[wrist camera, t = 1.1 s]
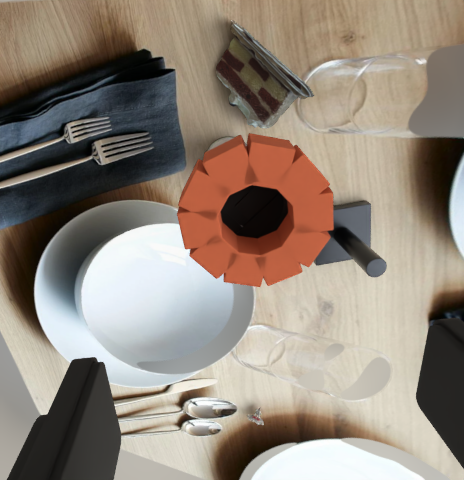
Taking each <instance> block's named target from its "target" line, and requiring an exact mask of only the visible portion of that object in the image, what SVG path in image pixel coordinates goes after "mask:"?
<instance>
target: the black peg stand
mask: <svg viewBox="0 0 464 480" xmlns="http://www.w3.org/2000/svg"><path fill="white" fill-rule="evenodd" d="M327 232H328V233H329V235H330V237H331V238H330V239H329V241H328V242H327V243H326V245H325V246H324V247H323V249H322V250H321V252H320V253H319V254H318V256H317V257H316V258H315V260H314V263H315V264H316V265H322V264H328V263H334V262H339V261H345V260H351V259H353V260H354V261H355V262H356V263H357V264H358V265H359V266H360V267H361V268H362V269H363V270H364V271H365V272H366V273H367V274H368V275H369V276H371V277H378V276H380V275H382V274H383V273H384V272H385V270H386V262H385V261H384V260H383V259H382V258H381V257H380V256H379V255H377V254H376V253H375V252H374V251H373V250H372V249H371V248H370V235H371V204H370V203H369V202H367V201H362V202H356V203H350V204H344V205H338V206H333V230H329V231H327Z"/></svg>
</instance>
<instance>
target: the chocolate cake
mask: <svg viewBox="0 0 464 480" xmlns="http://www.w3.org/2000/svg"><path fill="white" fill-rule="evenodd" d="M231 21H232V20H231ZM231 31H232V32H233V33H234V34H235V37H234V38H233V40H232V41H231V42H230V47H229V49H227V50H226V51H225V52H224V55H223V56H222V58H221V60H220V62H219V63H218V65H217V67H216V71H217V77H218V78H219V79H220V80H221V82H222V83H223V84H224V85H225V86H226V87H227V88H229V89H230V90H231V92H232V93H231V95H230V96H229V98H228V99H229V103H230V105H231V106H235V105H237V106H238V107H239V109H240V110H241V111H242V112H243V114H244V115H245V116H246V118H247V123H248V125H253V126H254V127H257V126H259V127H261V128H269V127H271V126H273V125H274V124H275V123H276V122H277V120H278V118H279V117H280V116H281V115H282V114H283V113H284V112H285V111H286V110H287V109H288V108H289V106H290V105H291V104H292V103H293V101H294V100H295V99H297V98H298V97H299V98H300V99H305V98H306V97H313V96H314V95H313V93H312V91H311V89H310V87H309V86H307V85H306V84H305V82H303V81H302V80H301V79H300V78H299V77H298V76H297V75H295V74H293V73H292V71H291V70H290V69H288V68H287V67H286V66H285V65H284V64H282V63H281V61H279V60H278V59H277V58H276V57H275V56H274V55H273V54H271V52H270V51H268V50H267V49H265V48H264V47H263V46H262V45H261V44H260V43H259V42H258V41H257V40H255V39H254V38H253V37H252V36H251V34H249V33H248V32H247V31H246V30H245V29H244V28H241V26H240V25H238V24H237V23H235V22H234V21H232V27H231Z"/></svg>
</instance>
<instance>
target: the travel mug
mask: <svg viewBox="0 0 464 480" xmlns="http://www.w3.org/2000/svg"><path fill="white" fill-rule="evenodd" d="M233 138H235V137H224V138H221V139H218V140H217V141H215V142H214V143H213V144H211V146H210V147H209V148H208V150H207V151H209V150H211V149H213V148H215V147H217V146H219V145H221V144H223V143H225V142H227V141H229V140H231V139H233ZM244 143H245V142H244ZM245 145H246V146H247V144H246V143H245ZM220 212H221V218H222V222H223V223H224V224H225V225H226V226H227V227H228V228H229V229H231V230H232V231H233V232H234V233H235V234H236V235H237V236H244V237H250V238H257V239H258V238H260V237H262V236H265V235H267V234H269V233H272V232H274V231H276V230H277V229H278V228H279V226H280V225H281V223H282V221H283V220H284V218H285V217H286V215H287V214H288V205H287V200H286V198H285V197H284V196H283V195H282V194H281V193H280V192H279V191H278V190H277V189H273V188H267V187H261V186H255V185H251V186H249V187H246V188H244V189H242V190H240V191H238V192H236V193H234V194H231V195H229V197H228V199H227V201H226V202H225V204H224V206H223V208H222V210H221V211H220Z"/></svg>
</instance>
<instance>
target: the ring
mask: <svg viewBox="0 0 464 480" xmlns="http://www.w3.org/2000/svg"><path fill="white" fill-rule="evenodd" d="M251 185H255V186H261V187H267V188H273V189H277V190H278V191H279V192H280V193H281V194H282V195H283V196H284V197H285V198H286V200H287V205H288V214H287V215H286V217H285V218H284V220H283V221H282V223H281V225H280V226H279V228H278V229H277V230H276V231H274V232H272V233H269V234H267V235H265V236H262V237H260V238H258V239H257V238H250V237H244V236H237V235H236V234H235V233H234V232H233V231H232V230H231V229H229V228H228V227H227V226H226V225H225V224H224V223H223V222H222V218H221V212H220V211H221V210H222V208H223V206H224V204H225V202H226V201H227V199H228V197H229V195H231V194H234V193H236V192H238V191H240V190H242V189H244V188H246V187H249V186H251ZM329 185H330V184H329V182H328V181H327V180H326V179H325V177H324V176H323V175H322V174H321V172H320V171H319V170H318V169H317V168H316V167H315V165H314V164H313V163H312V162H311V161H310V160H309V159H308V157H307V156H306V155H305V154H304V153H303V152H302V151H301V149H300V148H299V147H298V146H297V145H295V146H294V147H293V146H292V144H291V143H290V141H289V140H284V139H278V138H272V137H267V136H261V135H256V134H250V133H249V135H248V141H247V146H246V145H245V143H244V140H243V138H242V136H241V135H239V136H237V137H235V138H233V139H231V140H229V141H227V142H225V143H223V144H221V145H219V146H217V147H215V148H213V149H211V150H209V151H207V152H205V153H204V158H203V161H202V160H200V159H198V161H197V163H196V165H195V167H194V169H193V171H192V173H191V175H190V177H189V179H188V181H187V183H186V185H185V187H184V189H183V191H182V194H181V197H180V201H179V204H178V206H179V209H178V213H177V216H178V220H179V225H180V229H181V233H182V238H183V242H184V246H185V249H191V250H190V255H189V256H190V257H191V258H193V259H194V260H195V261H196V262H197V263H199V264H200V265H201V266H202V267H203V268H204V269H206V270H207V271H208V272H209V273H210V274H212V275H213V276H214V277H215V278H216V279H217V278H219V277H220V276H221V275H222V274H223V273H224V282H228V283H235V284H242V285H249V286H256V287H260V286H261V283H262V279H263V278H264V280H265V282H266V284H267V285H268V286H269V285H272V284H274V283H277V282H279V281H282V280H284V279H287V278H289V277H292V276H294V275H297V274H299V273H302V268H301V265H300V263H301V264H303V265H305V266H307V267H310V265H311V264H312V262H313V261H314V260H315V258H316V257H317V256H318V254H319V253H320V252H321V250H322V249H323V247H324V246H325V245H326V243H327V242H328V241H329V239H330V238H331V237H330V235H329V233H328V232H327V231H329V230H333V192H332V191H331V189H330V188H329V187H328V186H329Z"/></svg>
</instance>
